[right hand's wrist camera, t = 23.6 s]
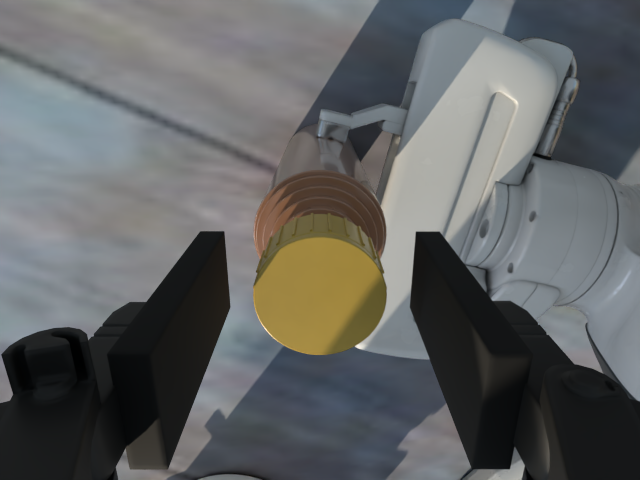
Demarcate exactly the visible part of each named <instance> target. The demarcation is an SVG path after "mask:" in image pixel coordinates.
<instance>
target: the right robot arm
mask: <svg viewBox="0 0 640 480" xmlns="http://www.w3.org/2000/svg"><path fill="white" fill-rule="evenodd" d="M229 309H230V297H229V284H228V272H227V260H226V247H225V235H224V231H200V233H199V234H198V235H197V237H196V238H195V239H194V240H193V242H192V243H191V244H190V246H189V247H188V248H187V250H186V251H185V252H184V254H183V255H182V256H181V258H180V259H179V260H178V261H177V263H176V264H175V265H174V267H173V268H172V269H171V271H170V272H169V273H168V275H167V276H166V277H165V278H164V280H163V281H162V282H161V284H160V285H159V286H158V288H157V289H156V290H155V292H154V293H153V294H152V296H151V297H150V298H149V299H148V301H147V302H129V303H128V304H126V305H124V306H123V307H121V308H119V309H118V310H116V311H114V312H113V313H112V314H111V315H110V316H109V317H108V319H107V320H106V321H105V322H104V323H103V326H102V327H100V328H99V329H98V330H97V331H96V332H95V334H94V337H91V338H90V339H89V340H88V337H87V334H86V333H85V332H83V331H82V330H80V329H76V328H70V327H66V328H53V329H48V330H44V331H40V332H37V333H34V334H31V335H29V336H26V337H24V338H22V339H20V340H18V341H17V342H15V343H14V344H12V345H10V346H9V347H8V348H7V349H6V350H5V351H4V352H3V353H2V354H1V355H2V358H3V362H4V365H5V368H6V372H7V375H8V378H9V382H10V385H11V388H12V392H13V396H12V398H11V400H10V401H7V402H3V403H0V480H118V476H117V471H116V465H117V463H118V462H119V460H120V458H121V456H122V454H123V452H124V450H125V448H126V452H127V457H128V462H129V467H130V469H168V468H169V465H170V462H171V460H172V457H173V455H174V452H175V449H176V447H177V444H178V442H179V439H180V436H181V434H182V431H183V429H184V426H185V423H186V421H187V418H188V416H189V413H190V410H191V408H192V405H193V403H194V400H195V398H196V395H197V392H198V390H199V387H200V385H201V382H202V379H203V377H204V374H205V372H206V369H207V366H208V364H209V361H210V359H211V356H212V353H213V351H214V348H215V346H216V343H217V340H218V338H219V335H220V333H221V330H222V328H223V325H224V322H225V320H226V317H227V315H228V312H229ZM410 309H411V312H412V315H413V317H414V320H415V322H416V325H417V328H418V330H419V333H420V335H421V338H422V340H423V343H424V346H425V348H426V351H427V353H428V356H429V359H430V361H431V364H432V366H433V369H434V372H435V374H436V377H437V379H438V382H439V385H440V387H441V390H442V392H443V395H444V398H445V400H446V403H447V405H448V408H449V410H450V413H451V416H452V418H453V421H454V423H455V426H456V429H457V431H458V434H459V436H460V439H461V442H462V444H463V447H464V449H465V452H466V455H467V457H468V460H469V462H470V465H471V468H472V469H510V467H511V462H512V457H513V452H514V447H515V448H516V450H517V452H518V453H519V455H520V457H521V459H522V461H523V463H524V465H525V467H524V471H523V476H522V480H640V401H637V400H633V399H629V397H628V395H627V393H626V392H625V391H624V390H623V388H622V387H621V386H620V385H619V384H618V383H617V382H615V381H614V380H613V379H611V378H610V377H608V376H607V375H605V374H603V373H600V372H598V371H596V370H594V369H591V368H588V367H584V366H580V365H574V363H573V362H572V361H571V360H570V359H569V358H568V357H567V356H566V354H565V353H564V352H563V351H562V350H561V349H560V348H559V346H558V345H557V344H556V343H555V342H554V341H553V340H552V338H551V337H550V336H549V335H546V332H545V330H544V329H543V328H542V327H541V326H540V325H538V322H537V321H536V320H535V319H534V318H533V317H532V316H531V315H530V313H529V312H528V311H527V310H525V309H523V308H522V307H520V306H518V305H517V304H515V303H513V302H512V301H492V299H491V298H490V297H489V296H488V294H487V293H486V292H485V290H484V289H483V288H482V286H481V285H480V284H479V282H478V281H477V280H476V278H475V277H474V276H473V275H472V273H471V272H470V271H469V269H468V268H467V267H466V265H465V264H464V263H463V261H462V260H461V259H460V258H459V256H458V255H457V254H456V252H455V251H454V250H453V248H452V247H451V246H450V244H449V243H448V242H447V240H446V239H445V238H444V237H443V235H442V234H441V233H440V231H416V235H415V247H414V260H413V272H412V284H411V297H410Z"/></svg>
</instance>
